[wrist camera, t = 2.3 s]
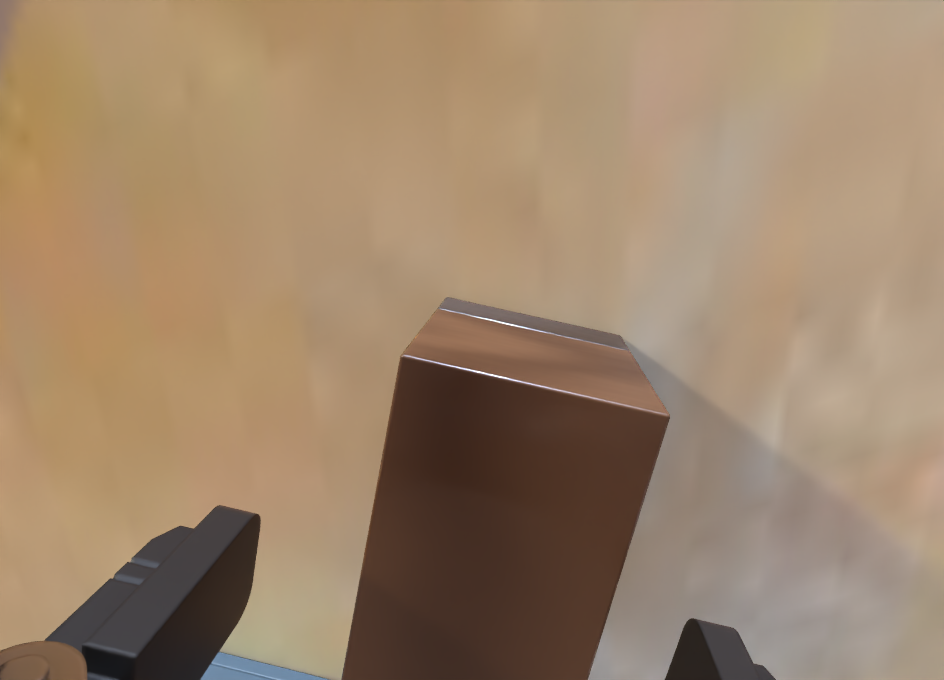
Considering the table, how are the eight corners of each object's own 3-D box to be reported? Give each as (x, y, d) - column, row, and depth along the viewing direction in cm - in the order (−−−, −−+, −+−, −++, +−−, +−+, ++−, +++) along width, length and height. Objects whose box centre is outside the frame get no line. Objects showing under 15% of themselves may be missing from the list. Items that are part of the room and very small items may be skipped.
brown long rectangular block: (621, 335, 15) (671, 415, 10) (538, 631, 17) (542, 828, 12) (445, 296, 15) (400, 354, 10) (387, 594, 17) (324, 772, 12)
